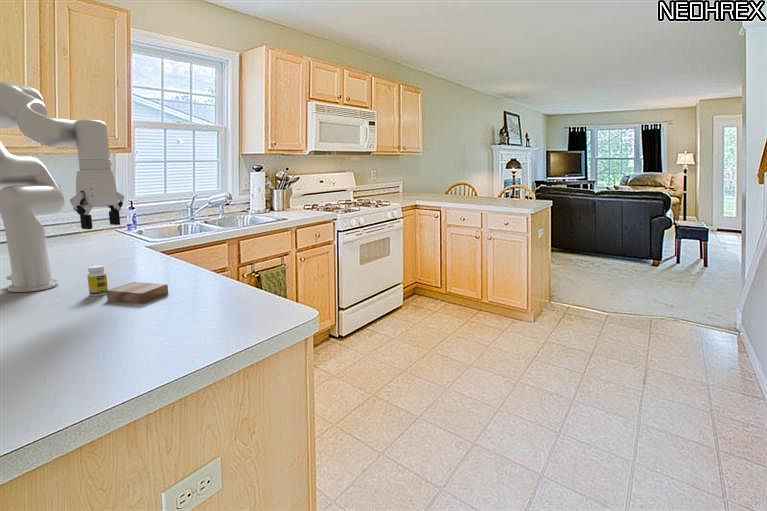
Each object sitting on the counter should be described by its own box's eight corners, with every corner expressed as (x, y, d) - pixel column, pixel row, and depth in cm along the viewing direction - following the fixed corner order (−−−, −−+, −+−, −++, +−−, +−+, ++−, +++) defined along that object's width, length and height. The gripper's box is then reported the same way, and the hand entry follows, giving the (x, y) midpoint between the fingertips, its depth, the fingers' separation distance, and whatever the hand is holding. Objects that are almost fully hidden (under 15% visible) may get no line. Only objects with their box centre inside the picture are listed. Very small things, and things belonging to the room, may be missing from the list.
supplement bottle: (99, 296, 134) (96, 268, 132) (85, 295, 135) (82, 267, 133) (112, 292, 138) (109, 265, 137) (98, 291, 139) (95, 264, 138)
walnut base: (107, 300, 130) (106, 290, 129) (134, 291, 139) (133, 281, 139) (143, 303, 127) (142, 293, 126) (168, 294, 136) (167, 284, 136)
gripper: (109, 165, 138) (114, 222, 141) (55, 165, 121) (63, 230, 125) (130, 166, 136) (135, 223, 139) (78, 166, 119) (86, 231, 123)
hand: (101, 226), depth 132 cm, fingers open, 9 cm apart
